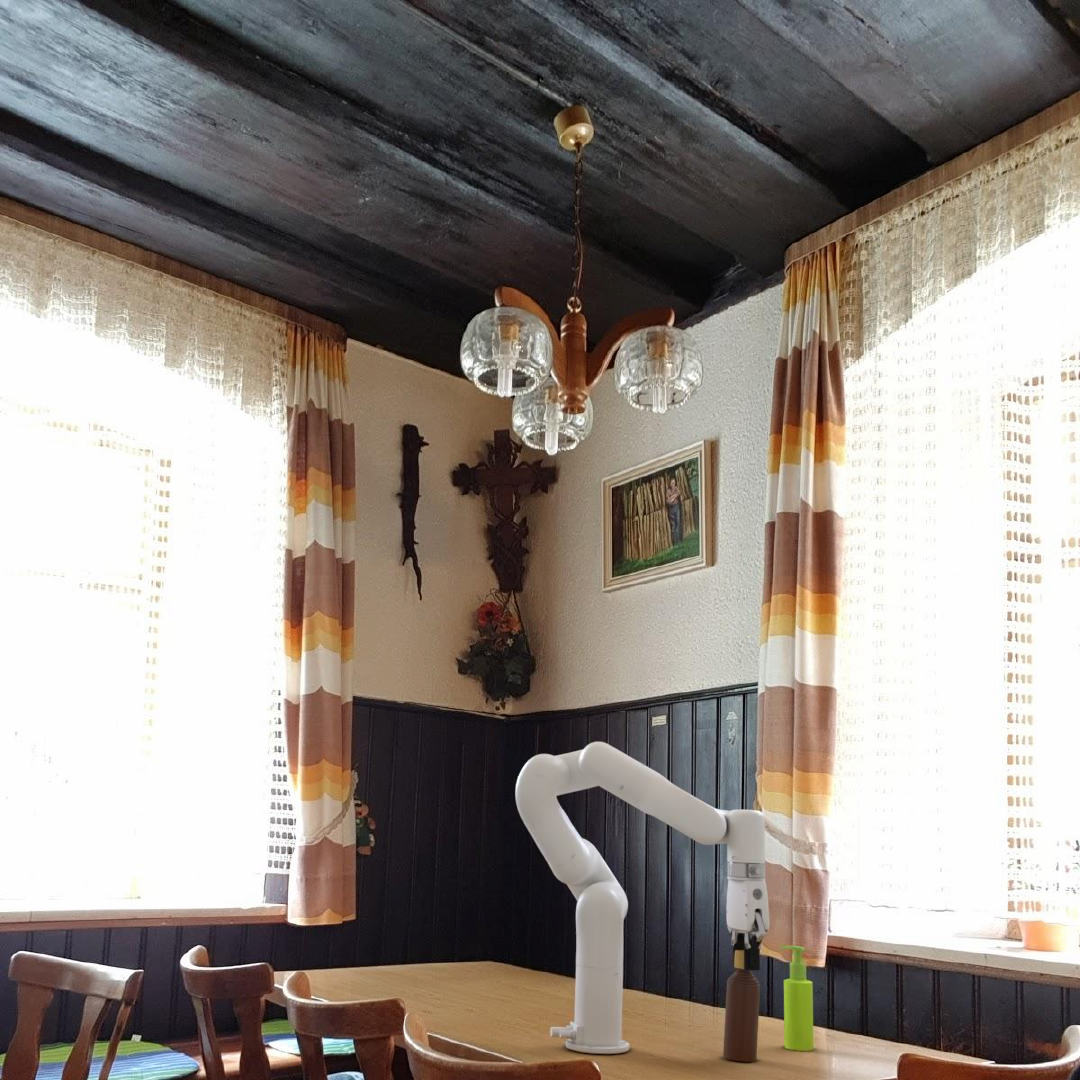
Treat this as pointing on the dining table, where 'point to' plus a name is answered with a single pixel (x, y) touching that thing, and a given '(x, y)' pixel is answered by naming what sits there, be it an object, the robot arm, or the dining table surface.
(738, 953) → the cap
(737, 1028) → the bottle
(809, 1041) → the soap dispenser
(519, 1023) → the dining table surface
